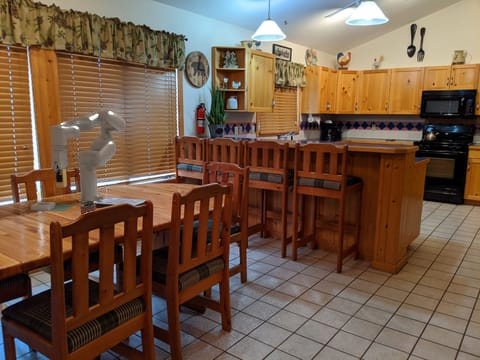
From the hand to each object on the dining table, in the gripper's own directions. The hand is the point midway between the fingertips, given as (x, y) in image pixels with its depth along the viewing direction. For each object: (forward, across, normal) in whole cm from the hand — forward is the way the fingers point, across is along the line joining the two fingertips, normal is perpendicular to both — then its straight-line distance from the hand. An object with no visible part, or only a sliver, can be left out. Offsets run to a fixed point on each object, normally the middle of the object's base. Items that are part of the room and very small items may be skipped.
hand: (61, 180), depth 208 cm
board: (+16, +2, -5) cm, 17 cm away
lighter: (+16, +21, +22) cm, 34 cm away
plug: (+3, 0, 0) cm, 3 cm away
